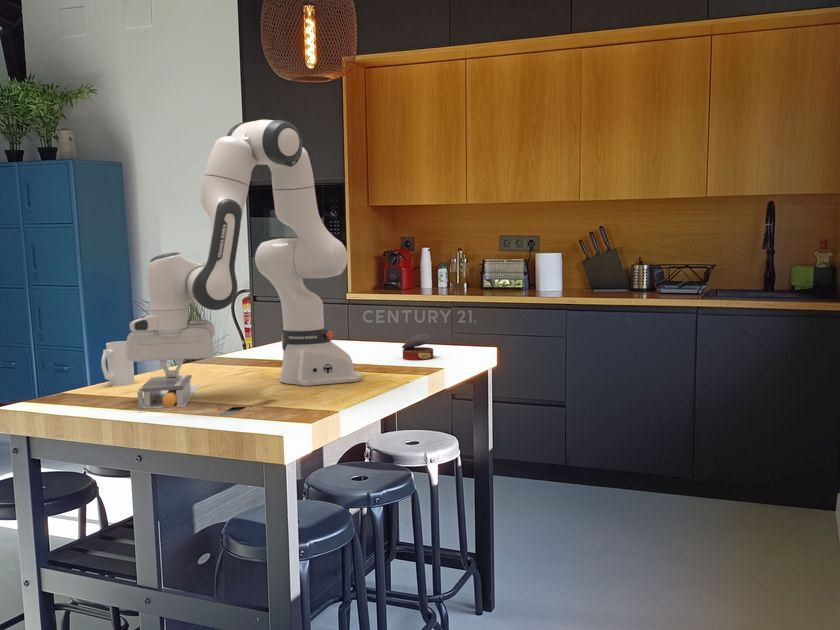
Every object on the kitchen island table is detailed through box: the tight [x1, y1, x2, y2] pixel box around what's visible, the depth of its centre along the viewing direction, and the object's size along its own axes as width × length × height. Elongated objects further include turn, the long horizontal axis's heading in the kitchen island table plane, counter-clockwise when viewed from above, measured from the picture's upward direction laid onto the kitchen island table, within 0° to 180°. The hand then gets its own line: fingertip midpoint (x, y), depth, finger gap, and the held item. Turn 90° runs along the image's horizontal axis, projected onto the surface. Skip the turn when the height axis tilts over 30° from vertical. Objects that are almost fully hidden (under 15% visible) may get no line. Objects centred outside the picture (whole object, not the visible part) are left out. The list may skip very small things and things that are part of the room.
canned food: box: [401, 333, 434, 362], centre depth 254 cm, size 11×10×10 cm
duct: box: [136, 380, 199, 414], centre depth 196 cm, size 10×26×5 cm, turn 9°
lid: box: [138, 374, 193, 393], centre depth 192 cm, size 10×15×1 cm, turn 9°
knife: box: [218, 405, 253, 417], centre depth 185 cm, size 22×1×5 cm
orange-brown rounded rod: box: [162, 390, 177, 408], centre depth 190 cm, size 3×12×3 cm
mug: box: [100, 340, 135, 387], centre depth 213 cm, size 10×7×12 cm, turn 157°
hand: (172, 378), depth 192 cm, fingers closed
